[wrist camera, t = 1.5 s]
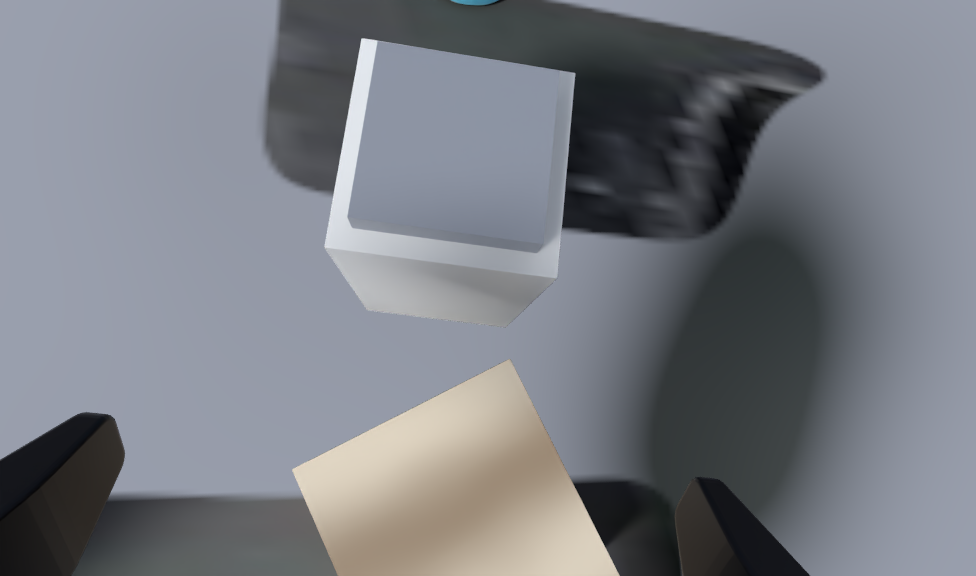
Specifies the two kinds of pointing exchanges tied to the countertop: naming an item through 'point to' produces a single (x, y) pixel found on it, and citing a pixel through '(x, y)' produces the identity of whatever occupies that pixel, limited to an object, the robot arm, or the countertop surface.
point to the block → (454, 492)
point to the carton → (451, 183)
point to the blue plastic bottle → (474, 2)
